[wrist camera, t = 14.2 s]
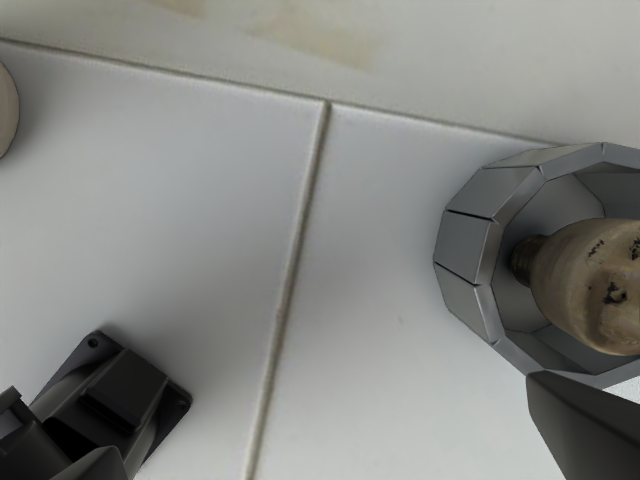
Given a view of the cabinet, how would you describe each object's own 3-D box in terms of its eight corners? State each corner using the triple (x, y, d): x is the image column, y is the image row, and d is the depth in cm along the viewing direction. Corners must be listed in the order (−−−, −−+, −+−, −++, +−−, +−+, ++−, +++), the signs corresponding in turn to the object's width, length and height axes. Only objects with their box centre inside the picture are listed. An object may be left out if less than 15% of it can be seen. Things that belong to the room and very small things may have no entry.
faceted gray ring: (529, 379, 23) (593, 434, 18) (394, 264, 22) (425, 290, 17) (659, 239, 22) (763, 257, 17) (530, 109, 21) (604, 88, 16)
